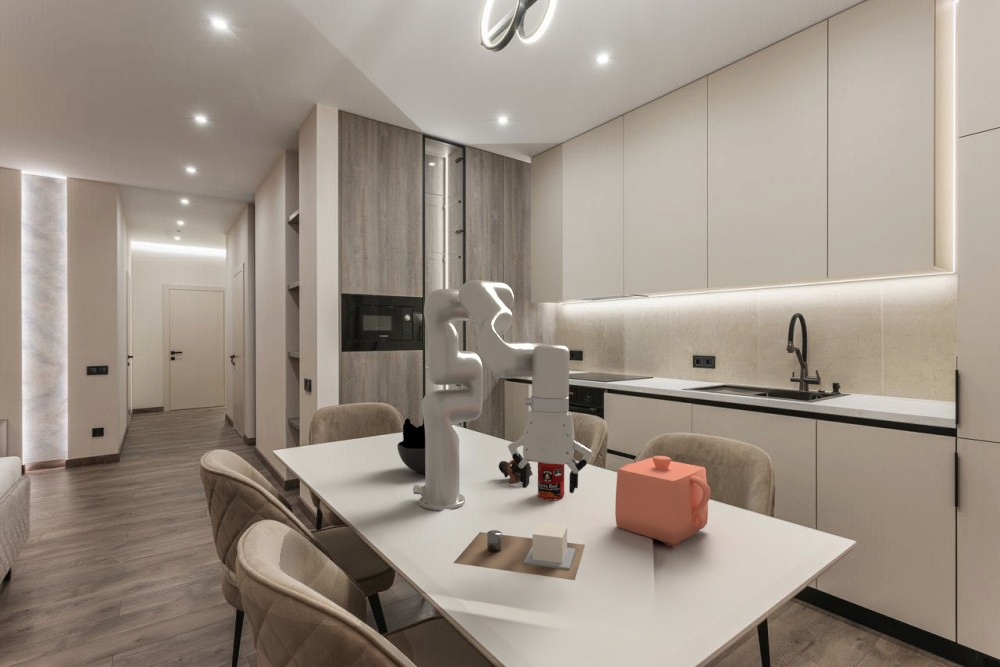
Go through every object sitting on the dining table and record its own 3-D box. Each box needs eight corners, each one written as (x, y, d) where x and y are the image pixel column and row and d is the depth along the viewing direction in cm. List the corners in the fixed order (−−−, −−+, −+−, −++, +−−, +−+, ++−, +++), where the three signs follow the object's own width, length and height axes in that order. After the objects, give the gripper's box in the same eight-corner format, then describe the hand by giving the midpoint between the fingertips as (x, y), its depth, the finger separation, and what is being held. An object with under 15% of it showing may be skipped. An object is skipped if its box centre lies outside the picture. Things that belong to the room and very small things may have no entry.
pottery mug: (535, 479, 160) (537, 461, 156) (524, 499, 153) (525, 481, 149) (503, 467, 165) (504, 448, 161) (490, 485, 157) (491, 467, 153)
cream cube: (532, 559, 97) (532, 534, 97) (538, 547, 102) (538, 523, 102) (562, 563, 95) (562, 537, 95) (567, 550, 101) (567, 526, 101)
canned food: (534, 498, 140) (534, 460, 140) (542, 490, 147) (542, 454, 147) (560, 501, 137) (560, 462, 137) (567, 493, 144) (567, 456, 144)
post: (485, 551, 101) (485, 534, 101) (489, 545, 104) (489, 529, 104) (499, 553, 100) (499, 536, 100) (503, 547, 103) (503, 531, 103)
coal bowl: (463, 466, 175) (463, 414, 175) (444, 482, 156) (444, 423, 156) (411, 463, 180) (411, 412, 180) (387, 478, 160) (387, 421, 160)
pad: (523, 563, 96) (523, 561, 96) (533, 545, 104) (533, 543, 104) (569, 570, 93) (569, 567, 93) (575, 550, 102) (575, 548, 102)
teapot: (651, 505, 134) (651, 440, 135) (737, 527, 118) (736, 453, 118) (600, 529, 117) (600, 455, 117) (692, 559, 101) (691, 473, 101)
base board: (453, 570, 96) (453, 562, 96) (479, 538, 111) (479, 532, 111) (574, 587, 89) (574, 579, 89) (585, 551, 104) (585, 544, 104)
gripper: (504, 405, 98) (503, 489, 98) (590, 410, 93) (589, 499, 93) (514, 400, 105) (512, 479, 105) (594, 405, 100) (593, 487, 100)
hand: (548, 488), depth 99 cm, fingers open, 9 cm apart
